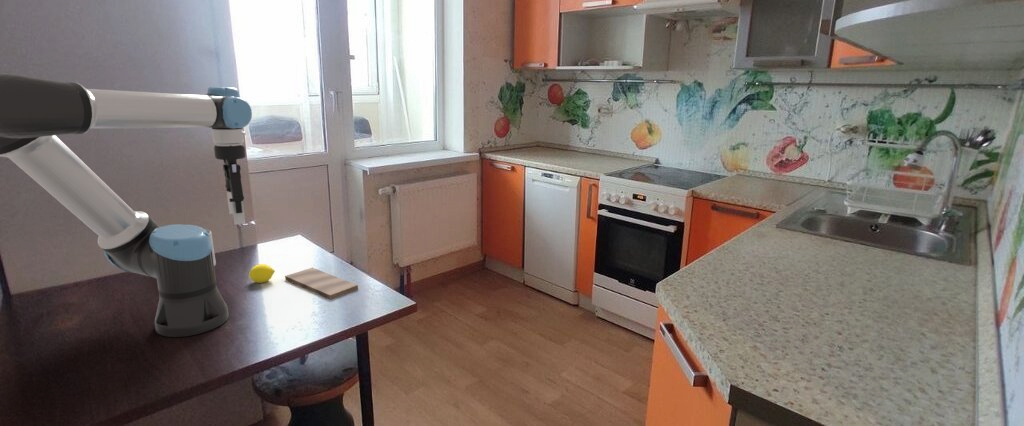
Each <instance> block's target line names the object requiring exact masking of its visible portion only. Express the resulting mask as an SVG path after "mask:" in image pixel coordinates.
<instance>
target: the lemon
mask: <svg viewBox="0 0 1024 426" xmlns="http://www.w3.org/2000/svg"><path fill="white" fill-rule="evenodd" d="M275 271H276V270H274V269H273V268H272V267H271V266H270V265H268V264H263V263H262V264H257V265H254V266H253V267H252V268H251V269H250V271H249V273H248V277H249V278H250V279H251V280H252V281H253V282H255V283H259V284H262V283H265V282H268V281H269V280H271V279H272V278H273V275H274V273H276V272H275Z"/></svg>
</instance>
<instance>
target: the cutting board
mask: <svg viewBox="0 0 1024 426" xmlns="http://www.w3.org/2000/svg"><path fill="white" fill-rule="evenodd" d="M284 278H285V279H284V280H285V281H287V282H290V283H291V284H295V285H296V286H299V287H301V288H304V289H306V290H308V291H311V292H313V293H314V294H317V295H319V296H322V297H324V298H326V299H328V300H333V299H335V298H338V297H340V296H343V295H346V294H349V293H351V292H354V291H357V290H359V287H358V286H359V284H356V283H353V282H351V281H348V280H345V279H343V278H341V277H338V276H336V275H332V274H330V273H327V272H325V271H322V270H320V269H317V268H315V267H310V268H307V269H303V270H300V271H297V272H293V273H291V274H287V275H285V276H284Z"/></svg>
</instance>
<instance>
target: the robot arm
mask: <svg viewBox="0 0 1024 426" xmlns="http://www.w3.org/2000/svg"><path fill="white" fill-rule="evenodd" d="M252 110H253V109H252V107H251V106H250V103H249V102H248V101H247V100H245V99H244V98H242V97H241V96H240V92H239V89H237V88H236V87H230V86H229V87H228V86H210V87H208V88H207V94H186V93H167V92H152V91H150V92H149V91H133V90H117V89H116V90H115V89H99V88H98V89H97V88H86V87H85V86H84V85H82V84H80V83H78V82H68V81H61V80H60V81H59V80H58V81H57V80H53V79H52V80H51V79H44V78H38V77H34V76H28V75H22V74H18V73H17V74H16V73H8V72H0V157H1V158H2V157H3V158H8V159H9V160H10V161H11V162H13V163H14V164H15V165H16V166H17V167H18V168H19V169H20V170H22V171H23V172H24V173H25V174H26V175H28V176H29V177H30V178H31V179H32V180H33V181H35V182H36V184H38V185H39V186H41V187H42V188H43V189H44V190H45V191H46V192H47V193H49V195H51V196H52V197H53V198H54V199H55V200H57V202H59V204H61V205H62V206H64V207H65V209H67V210H68V211H69V212H71V214H72V215H74V216H75V217H77V219H79V221H81V222H82V223H83V224H84V225H85V226H87V227H88V228H89V229H90V230H91V231H93V232H94V233H95V234H96V235H97V236H98V237H97V245H98V247H99V248H101V250H103V254H104V256H105V259H107V261H108V262H109V263H110V264H111V265H113V266H114V267H115V268H118V269H120V270H121V271H124V272H127V273H133V274H134V273H135V274H139V275H142V276H147V277H150V278H154V279H155V280H156V284H157V291H158V295H159V296H158V297H159V300H158V304H157V309H156V313H155V318H154V326H155V327H154V328H155V332H156V333H157V335H160V336H163V337H166V338H182V337H184V338H185V337H190V336H195V335H200V334H203V333H206V332H209V331H211V330H212V331H213V330H215V329H216V328H218V327H220V326H222V325H223V324H225V323H226V322H227V321H228V319H229V317H230V316H229V309H228V305H227V303H226V302H225V300H224V298H223V295H222V294H221V292H220V290H219V289H218V286H217V280H216V272H215V267H214V263H213V255H212V244H211V241H210V237H209V234H208V232H207V231H206V230H207V229H205V228H204V227H201V226H199V225H195V224H194V225H193V224H183V223H181V224H179V223H178V224H168V225H163V226H160V225H159V224H158V223H157V221H155V220H154V219H153V218H152V217H151V216H150V215H148V213H146V212H145V211H141V210H139V211H138V210H133V209H132V208H131V207H130V206H129V205H128V204H127V203H126V202H125V201H124V200H123V199H122V198H121V197H120V196H119V195H118V194H117V193H116V192H114V190H113V189H112V188H111V187H109V185H108V184H106V183H105V181H104V180H103V179H101V178H100V177H99V176H98V175H97V174H96V173H95V172H94V171H93V170H92V169H91V168H90V167H89V166H88V165H87V164H86V163H85V162H84V161H83V160H82V159H81V158H80V157H79V156H77V154H76V153H74V152H73V150H72V149H70V148H69V147H68V146H67V144H65V143H64V142H63V141H62V140H61V139H60V138H59V137H58V136H62V135H63V136H64V135H84V134H86V133H88V132H89V131H90V130H91V129H145V128H146V129H155V128H156V129H163V128H164V129H165V128H166V129H170V128H172V129H173V128H177V129H180V128H181V129H182V128H185V129H186V128H211V135H212V136H211V137H212V142H213V143H214V144H215V145H214V146H213V150H214V158H215V160H219V161H220V160H222V161H223V164H222V167H223V168H222V169H223V173H224V177H225V178H224V179H225V189H226V197H227V207H228V214H229V215H232V216H233V224H234V226H236V225H244V224H245V225H246V216H245V215H246V214H245V213H246V212H245V205H244V200H245V196H244V193H243V192H244V191H243V185H242V175H241V165H240V164H239V163H237V161H238V160H242V159H245V158H246V157H247V156H246V147H245V145H244V143H245V140H244V136H246V134H247V133H246V131H243V128H245V127H247V126H248V125H249V124H250V122H251V120H252V118H253V117H252V116H253V115H252V114H253V112H252Z"/></svg>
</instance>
